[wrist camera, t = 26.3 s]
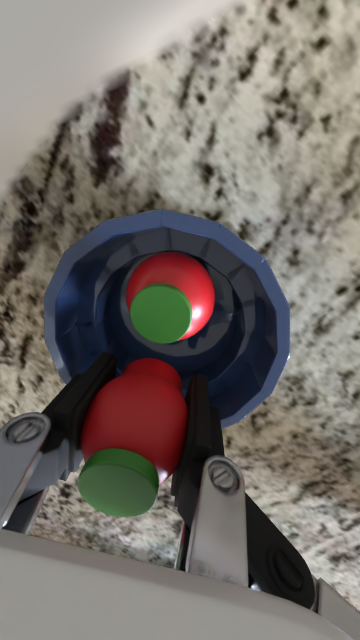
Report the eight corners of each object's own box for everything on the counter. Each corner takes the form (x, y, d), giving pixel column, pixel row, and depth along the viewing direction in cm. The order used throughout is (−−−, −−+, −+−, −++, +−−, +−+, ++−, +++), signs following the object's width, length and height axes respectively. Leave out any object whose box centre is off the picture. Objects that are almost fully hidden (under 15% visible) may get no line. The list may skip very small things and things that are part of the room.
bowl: (84, 366, 16) (43, 410, 12) (96, 199, 12) (42, 179, 8) (230, 401, 16) (241, 458, 12) (291, 246, 12) (339, 251, 8)
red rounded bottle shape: (128, 423, 12) (84, 540, 7) (97, 359, 11) (20, 451, 6) (202, 409, 11) (204, 529, 7) (178, 339, 10) (160, 426, 5)
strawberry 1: (139, 307, 14) (102, 348, 9) (150, 238, 12) (112, 246, 8) (204, 324, 14) (199, 374, 9) (224, 257, 12) (231, 276, 7)
